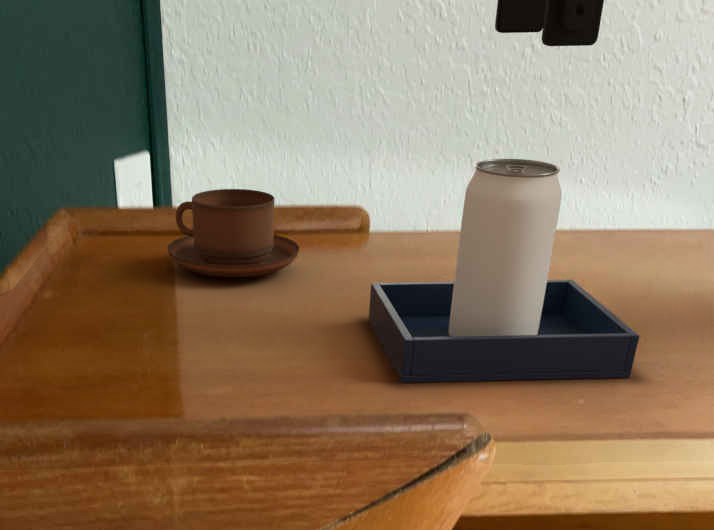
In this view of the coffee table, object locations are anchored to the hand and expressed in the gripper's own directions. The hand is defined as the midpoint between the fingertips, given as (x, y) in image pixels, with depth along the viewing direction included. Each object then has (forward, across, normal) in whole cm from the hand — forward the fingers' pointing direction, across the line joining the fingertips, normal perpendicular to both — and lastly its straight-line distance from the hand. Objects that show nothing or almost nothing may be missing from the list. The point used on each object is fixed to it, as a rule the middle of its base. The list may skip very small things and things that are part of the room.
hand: (541, 38), depth 60 cm
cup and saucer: (+20, +22, +19) cm, 35 cm away
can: (+20, 0, +1) cm, 20 cm away
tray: (+20, 0, +1) cm, 20 cm away
